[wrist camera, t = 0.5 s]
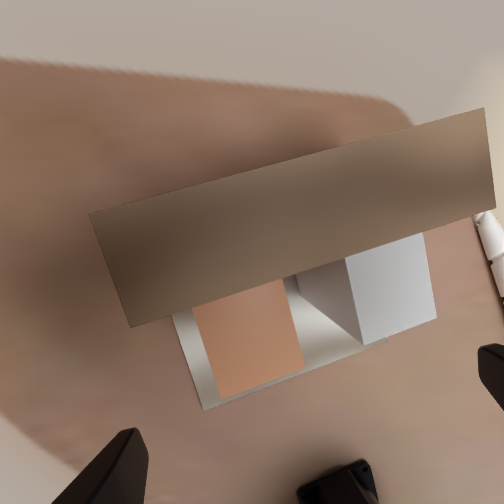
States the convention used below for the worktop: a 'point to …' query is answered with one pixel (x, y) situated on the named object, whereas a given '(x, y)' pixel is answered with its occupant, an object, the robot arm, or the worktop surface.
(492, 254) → the unicorn horn
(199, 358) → the socket block
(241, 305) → the terracotta plug
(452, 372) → the worktop surface
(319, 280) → the grey plug
